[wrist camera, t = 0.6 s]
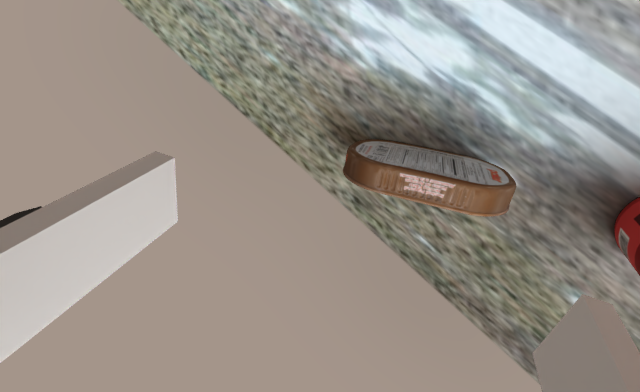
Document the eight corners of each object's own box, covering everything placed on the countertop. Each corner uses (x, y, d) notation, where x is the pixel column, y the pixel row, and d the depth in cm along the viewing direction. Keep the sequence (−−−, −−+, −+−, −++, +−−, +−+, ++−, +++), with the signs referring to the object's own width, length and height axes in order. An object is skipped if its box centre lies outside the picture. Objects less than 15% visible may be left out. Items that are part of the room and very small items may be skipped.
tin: (353, 155, 37) (331, 188, 30) (357, 127, 36) (336, 155, 29) (499, 187, 34) (514, 233, 27) (511, 158, 33) (531, 198, 25)
